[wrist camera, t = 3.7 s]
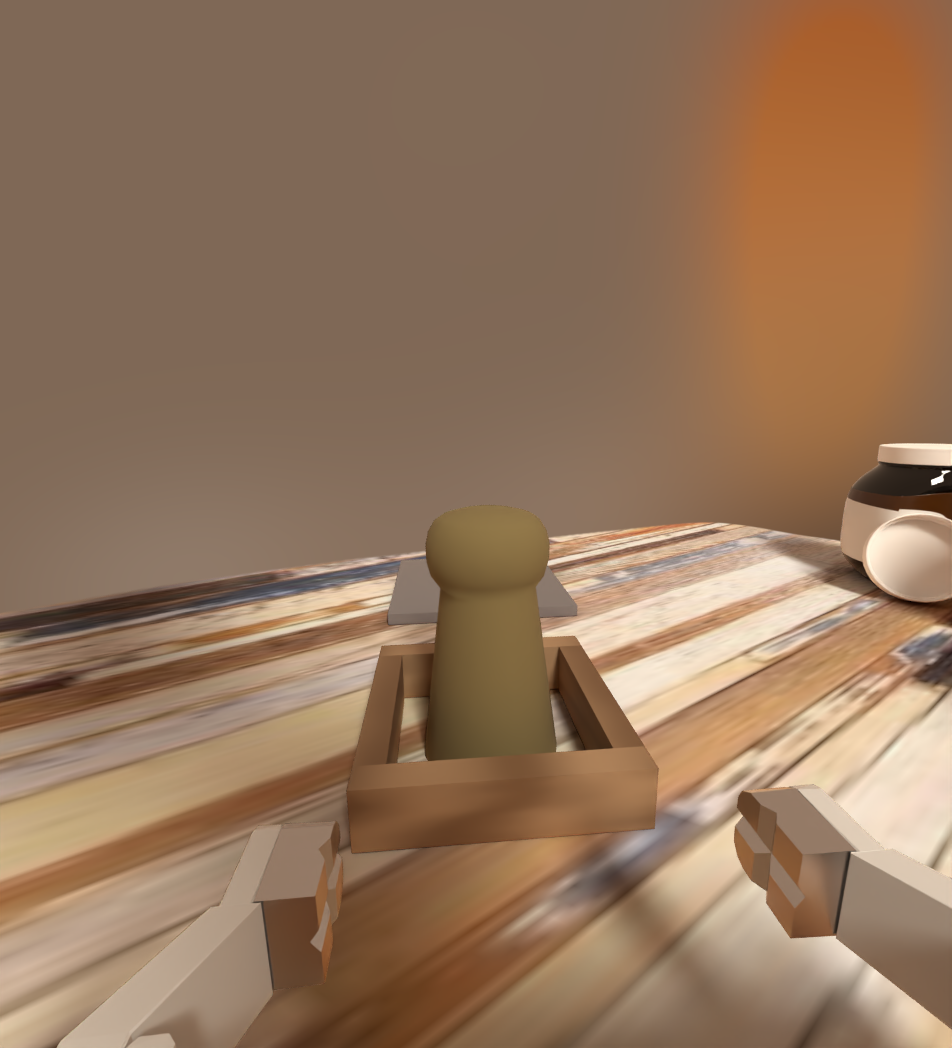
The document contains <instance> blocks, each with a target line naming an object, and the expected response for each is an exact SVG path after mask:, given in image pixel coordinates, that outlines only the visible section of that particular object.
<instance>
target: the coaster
mask: <svg viewBox="0 0 952 1048" xmlns="http://www.w3.org/2000/svg"><path fill="white" fill-rule="evenodd" d="M536 592H537V600H538V607H539V615H540V617H558V616H577V605H576V603H575V602H574V600H573V599H572V598H571V596H570V595H569V594H568V592H567V591H566V590H565V588H564V587H563V586H562V584H561V583H560V582H559V580H558V579H557V578H556V576H555V575H554V574H553V572H552V571H551V570H550V568H549V567H548V566H547V567H546V570H545V574H544V577H543V578H542V579H541V581H540V582H539V583H538V585H537V586H536ZM439 596H440V587H439V586H438V585H437V584H436V582H435V581H434V580H433V578H432V577H431V575H430V572H429V569H428V566H427V562H426V559H419V560H401V564H400V568H399V572H398V575H397V579H396V583H395V587H394V591H393V595H392V599H391V603H390V607H389V611H388V625H395V624H416V623H436V622H437V617H438V607H439Z"/></svg>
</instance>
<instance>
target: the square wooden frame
mask: <svg viewBox="0 0 952 1048" xmlns="http://www.w3.org/2000/svg"><path fill="white" fill-rule="evenodd" d="M543 645H544V653H545V660H546V668H547V676H548V683H549V689H559V691H560V693H561V696H562V698H563V700H564V702H565V705H566V707H567V709H568V711H569V713H570V716H571V718H572V720H573V722H574V725H575V727H576V729H577V731H578V734H579V736H580V738H581V740H582V743H583V745H584V747H585V749H586V750H582V751H568V752H554V753H539V754H525V755H510V756H496V757H481V758H467V759H452V760H438V761H423V762H409V763H397V759H398V750H399V741H400V733H401V724H402V715H403V707H404V698H409V697H426V696H430V689H431V679H432V669H433V658H434V648H435V643H428V644H409V645H390V646H382V647H381V651H380V655H379V659H378V663H377V667H376V671H375V675H374V680H373V684H372V688H371V692H370V696H369V700H368V704H367V708H366V713H365V717H364V721H363V725H362V729H361V733H360V737H359V741H358V745H357V750H356V754H355V758H354V762H353V766H352V770H351V774H350V778H349V783H348V787H347V791H346V792H347V803H348V815H349V826H350V838H351V849H352V853H361V852H373V851H385V850H398V849H410V848H422V847H435V846H447V845H459V844H471V843H484V842H496V841H508V840H520V839H533V838H545V837H557V836H570V835H582V834H594V833H606V832H619V831H631V830H643V829H655V814H656V800H657V785H658V770H659V768H658V767H657V765H656V763H655V762H654V760H653V759H652V757H651V756H650V754H649V752H648V751H647V749H646V748H645V746H644V744H643V743H642V741H641V740H640V738H639V737H638V735H637V733H636V732H635V730H634V729H633V727H632V725H631V724H630V722H629V721H628V719H627V718H626V716H625V714H624V713H623V711H622V710H621V708H620V706H619V705H618V703H617V702H616V700H615V699H614V697H613V695H612V694H611V692H610V691H609V689H608V687H607V686H606V684H605V683H604V681H603V680H602V678H601V676H600V675H599V673H598V672H597V670H596V668H595V667H594V665H593V664H592V662H591V661H590V659H589V657H588V656H587V654H586V653H585V651H584V649H583V648H582V646H581V645H580V643H579V642H578V640H577V638H576V637H575V636H562V637H543Z"/></svg>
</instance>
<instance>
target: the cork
mask: <svg viewBox="0 0 952 1048" xmlns="http://www.w3.org/2000/svg"><path fill="white" fill-rule="evenodd" d="M548 559H549V539H548V535H547V531H546V529H545V527H544V526H543V524H542V522H541V521H540V519H539V518H538V517H537V516H535V515H534V514H532V513H530V512H529V511H526V510H523V509H518V508H512V507H508V506H497V505H479V506H469V507H464V508H460V509H455V510H452V511H448V512H446V513H444V514H443V515H441V516H440V517H438V518H437V519H435V520H434V522H433V523H432V525H431V527H430V529H429V531H428V535H427V539H426V562H427V566H428V569H429V572H430V575H431V577H432V578H433V580H434V581H435V582H436V584H437V585H438V586H439V587H440V596H439V607H438V617H437V627H436V638H435V648H434V658H433V669H432V679H431V689H430V700H429V710H428V720H427V731H426V741H425V756H426V758H427V760H428V761H438V760H452V759H467V758H481V757H496V756H510V755H525V754H539V753H554V752H556V737H555V729H554V721H553V714H552V706H551V699H550V691H549V683H548V676H547V668H546V660H545V653H544V645H543V638H542V630H541V622H540V615H539V607H538V600H537V592H536V586H537V585H538V583H539V582H540V581H541V579H542V578H543V577H544V574H545V570H546V567H547V563H548Z"/></svg>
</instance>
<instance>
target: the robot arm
mask: <svg viewBox="0 0 952 1048" xmlns="http://www.w3.org/2000/svg"><path fill="white" fill-rule="evenodd" d="M737 808H738V810H739V811H740V812H741V814H742V815H743V817H742V818H741V819H740V821H739V822H738V823H737V824H736V826H735V833H734V843H735V847H736V852H737V856H738V858H739V860H740V863H741V865H742V867H743V869H744V871H745V872H746V874H747V875H748V877H749V878H750V880H751V881H752V882H754V883H755V884H757V885H758V886H760V887H761V888H763V889H764V890H766V903H767V905H768V906H769V908H770V909H771V911H772V912H773V914H774V915H775V916H776V918H777V919H778V921H779V922H780V924H781V925H782V927H783V928H784V930H785V931H786V933H787V934H788V935H789V937H790V938H805V937H821V936H836V939H837V940H839V941H840V942H841V943H843V944H844V945H845V946H846V947H848V948H849V949H850V950H851V951H853V952H854V953H855V954H857V955H858V956H859V957H860V958H862V959H863V960H864V961H865V962H867V963H868V964H869V965H870V966H872V967H873V968H874V969H876V970H877V971H878V972H879V973H881V974H882V975H883V976H884V977H886V978H887V979H888V980H890V981H891V982H892V983H893V984H895V985H896V986H897V987H898V988H900V989H901V990H902V991H904V992H905V993H906V994H907V995H909V996H910V997H911V998H912V999H914V1000H915V1001H916V1002H917V1003H919V1004H920V1005H921V1006H923V1007H924V1008H925V1009H926V1010H928V1011H929V1012H930V1013H931V1014H933V1015H934V1016H935V1017H937V1018H938V1019H939V1020H940V1021H942V1022H943V1023H944V1024H945V1025H947V1026H948V1027H949V1028H951V1029H952V879H951V878H949V877H947V876H945V875H943V874H941V873H939V872H938V871H936V870H934V869H932V868H930V867H928V866H926V865H924V864H922V863H920V862H918V861H916V860H914V859H912V858H910V857H908V856H906V855H904V854H902V853H900V852H898V851H896V850H894V849H884V848H883V847H882V846H881V845H880V844H879V843H878V842H877V841H876V840H875V839H874V838H873V837H872V836H870V835H869V834H868V833H867V832H866V831H865V830H864V829H863V828H862V827H861V826H860V825H859V824H858V823H857V822H856V821H855V820H854V819H853V818H852V817H851V816H850V815H849V814H848V813H847V812H845V811H844V810H843V809H842V808H841V807H840V806H839V805H838V804H837V803H836V802H835V801H834V800H833V799H832V798H831V797H830V796H829V795H828V794H827V793H826V792H825V791H824V790H823V789H821V788H820V787H818V786H816V785H814V784H811V785H800V786H790V787H781V788H769V789H757V790H745V791H742V792H741V794H740V795H739V797H738V804H737ZM339 841H340V832H339V824H338V823H337V822H336V821H330V822H309V823H288V824H284V825H258V827H257V828H256V829H255V830H254V831H253V832H252V834H251V836H250V838H249V841H248V843H247V845H246V847H245V849H244V852H243V854H242V856H241V858H240V861H239V863H238V865H237V867H236V869H235V872H234V874H233V876H232V878H231V881H230V883H229V885H228V887H227V889H226V892H225V894H224V896H223V898H222V901H221V903H220V905H219V906H215V907H210V908H209V909H208V910H207V911H205V912H204V913H203V914H202V915H201V916H200V917H199V918H198V919H196V920H195V921H194V922H193V923H192V924H191V925H190V926H189V927H187V928H186V929H185V930H184V931H183V932H182V933H181V934H180V935H179V936H177V937H176V938H175V939H174V940H173V941H172V942H171V943H170V944H168V945H167V946H166V947H165V948H164V949H163V950H162V951H161V952H160V953H158V954H157V955H156V956H155V957H154V958H153V959H152V960H151V961H149V962H148V963H147V964H146V965H145V966H144V967H143V968H142V969H141V970H139V971H138V972H137V973H136V974H135V975H134V976H133V977H132V978H130V979H129V980H128V981H127V982H126V983H125V984H124V985H123V986H122V987H120V988H119V989H118V990H117V991H116V992H115V993H114V994H113V995H111V996H110V997H109V998H108V999H107V1000H106V1001H105V1002H104V1003H103V1004H101V1005H100V1006H99V1007H98V1008H97V1009H96V1010H95V1011H94V1012H92V1013H91V1014H90V1015H89V1016H88V1017H87V1018H86V1019H85V1020H84V1021H82V1022H81V1023H80V1024H79V1025H78V1026H77V1027H76V1028H75V1029H73V1030H72V1031H71V1032H70V1033H69V1034H68V1035H67V1036H66V1037H65V1038H63V1039H62V1040H61V1041H60V1043H59V1045H58V1046H57V1048H235V1047H236V1045H237V1044H238V1042H239V1041H240V1040H241V1038H242V1037H243V1035H244V1034H245V1033H246V1031H247V1030H248V1028H249V1027H250V1026H251V1024H252V1023H253V1022H254V1020H255V1019H256V1017H257V1016H258V1015H259V1013H260V1012H261V1010H262V1009H263V1008H264V1006H265V1005H266V1004H267V1002H268V1001H269V999H270V998H271V997H272V995H273V990H281V989H289V988H296V987H304V986H311V985H319V984H325V979H326V974H327V969H328V964H329V960H330V955H331V950H332V945H333V938H332V926H331V925H332V924H333V922H334V921H335V920H336V919H337V918H338V915H339V909H340V904H341V896H342V886H343V864H342V857H341V856H340V855H339V854H338V853H337V850H338V846H339Z"/></svg>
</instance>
